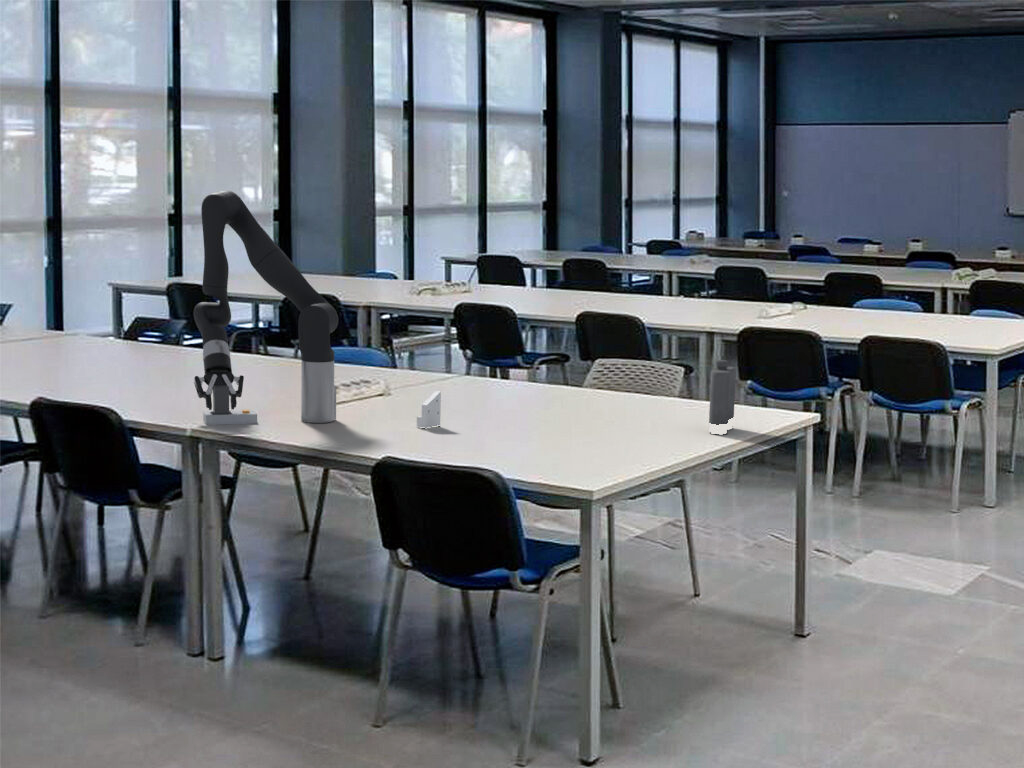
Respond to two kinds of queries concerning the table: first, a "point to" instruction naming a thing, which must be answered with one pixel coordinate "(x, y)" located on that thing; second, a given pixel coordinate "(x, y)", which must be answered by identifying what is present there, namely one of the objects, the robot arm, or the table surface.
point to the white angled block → (430, 411)
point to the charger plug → (220, 399)
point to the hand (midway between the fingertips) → (221, 407)
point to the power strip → (230, 417)
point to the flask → (722, 393)
